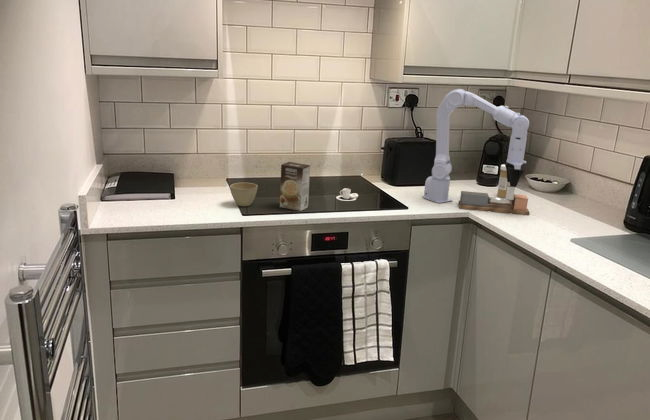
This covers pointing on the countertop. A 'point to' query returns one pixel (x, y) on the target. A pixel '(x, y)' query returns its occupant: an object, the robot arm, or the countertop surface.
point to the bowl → (243, 193)
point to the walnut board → (495, 209)
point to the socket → (520, 202)
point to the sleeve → (474, 199)
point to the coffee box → (294, 186)
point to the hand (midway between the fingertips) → (511, 184)
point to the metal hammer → (504, 201)
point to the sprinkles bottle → (503, 182)
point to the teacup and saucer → (347, 195)
